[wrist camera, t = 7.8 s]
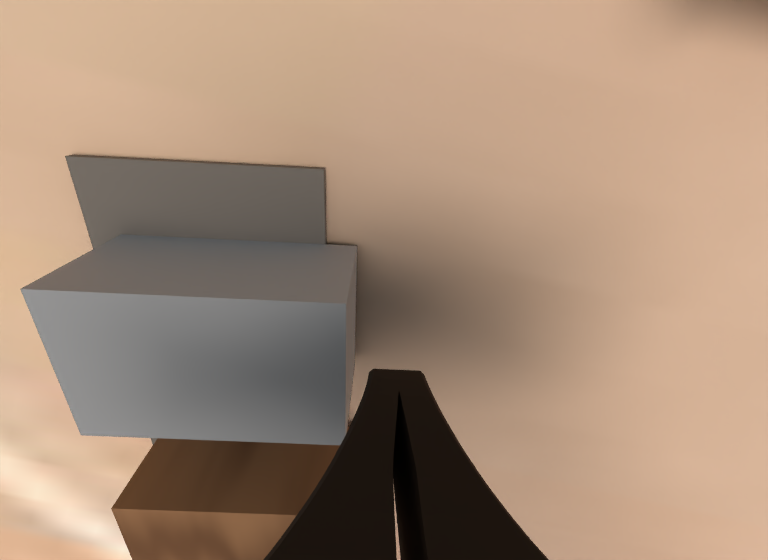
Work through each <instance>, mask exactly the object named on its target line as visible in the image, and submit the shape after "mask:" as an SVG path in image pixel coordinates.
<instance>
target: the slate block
mask: <svg viewBox="0 0 768 560" xmlns="http://www.w3.org/2000/svg"><path fill="white" fill-rule="evenodd" d="M356 278H357V246H350V245H330V244H308V243H288V242H267V241H246V240H226V239H205V238H184V237H163V236H143V235H122V234H121V235H119V236H117V237H115V238H114V239H112V240H110V241H108V242H106V243H104V244H103V245H101V246H99V247H97V248H95V249H93V250H91V251H90V252H88V253H86V254H84V255H82V256H80V257H79V258H77V259H75V260H73V261H71V262H69V263H67V264H66V265H64V266H62V267H60V268H58V269H56V270H55V271H53V272H51V273H49V274H47V275H45V276H43V277H42V278H40V279H38V280H36V281H34V282H32V283H31V284H29V285H27V286H25V287H23V288H21V292H22V294H23V296H24V299H25V301H26V304H27V306H28V309H29V311H30V313H31V316H32V318H33V321H34V323H35V325H36V328H37V330H38V333H39V335H40V338H41V340H42V342H43V345H44V347H45V350H46V352H47V354H48V357H49V359H50V362H51V364H52V366H53V369H54V371H55V374H56V376H57V379H58V381H59V383H60V386H61V388H62V391H63V393H64V395H65V398H66V400H67V403H68V405H69V407H70V410H71V412H72V415H73V417H74V420H75V422H76V424H77V427H78V429H79V432H80V434H81V435H88V436H113V437H139V438H164V439H190V440H216V441H241V442H267V443H292V444H318V445H341V443H342V441H343V439H344V437H345V435H346V433H347V426H348V418H349V409H350V400H351V391H352V383H353V374H354V365H355V328H356Z"/></svg>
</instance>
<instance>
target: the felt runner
mask: <svg viewBox="0 0 768 560" xmlns="http://www.w3.org/2000/svg"><path fill="white" fill-rule="evenodd" d="M65 157H66V161H67V164H68V167H69V171H70V174H71V177H72V180H73V184H74V187H75V190H76V194H77V197H78V200H79V203H80V207H81V210H82V213H83V217H84V220H85V223H86V226H87V230H88V233H89V236H90V240H91V243H92V246H93V249H95V248H97V247H99V246H101V245H103V244H104V243H106V242H108V241H110V240H112V239H114V238H115V237H117V236H119V235H121V234H122V235H143V236H163V237H184V238H205V239H226V240H246V241H267V242H288V243H308V244H326V188H325V168H319V167H299V166H280V165H260V164H241V163H222V162H202V161H183V160H164V159H144V158H125V157H106V156H86V155H69V156H65ZM151 440H152V443H153V444H154V443H155V441H156V440H157V438H151Z"/></svg>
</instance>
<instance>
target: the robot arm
mask: <svg viewBox="0 0 768 560" xmlns="http://www.w3.org/2000/svg"><path fill="white" fill-rule="evenodd" d="M393 482H394V490H393ZM394 493H395V503H396V513H397V524H398V534H399V545H400V555H401V560H548V558H547V557H546V556H545V555H544V554H543V553H542V552H541V551H540V550H539V548H538V547H537V546H536V545H535V544H534V543H533V542H532V541H531V540H530V538H529V537H528V536H527V535H526V534H525V532H524V531H523V530H522V529H521V528H520V526H519V525H518V524H517V523H516V521H515V520H514V519H513V518H512V517H511V515H510V514H509V513H508V512H507V510H506V509H505V508H504V506H503V505H502V504H501V502H500V501H499V500H498V499H497V497H496V496H495V495H494V493H493V492H492V491H491V489H490V488H489V486H488V485H487V484H486V482H485V481H484V480H483V478H482V477H481V475H480V474H479V472H478V471H477V469H476V468H475V466H474V465H473V463H472V462H471V460H470V459H469V457H468V456H467V454H466V453H465V451H464V450H463V448H462V446H461V445H460V443H459V442H458V440H457V438H456V437H455V435H454V433H453V431H452V430H451V428H450V426H449V425H448V423H447V421H446V419H445V418H444V416H443V414H442V412H441V410H440V408H439V406H438V404H437V402H436V400H435V398H434V396H433V394H432V392H431V390H430V388H429V386H428V383H427V381H426V378H425V376H424V374H423V373H422V372H421V371H410V370H388V369H373V370H371V371H370V372H369V376H368V381H367V385H366V388H365V391H364V394H363V397H362V400H361V402H360V405H359V407H358V410H357V412H356V414H355V416H354V418H353V421H352V423H351V425H350V427H349V429H348V431H347V433H346V435H345V437H344V439H343V441H342V443H341V445H340V447H339V448H338V450H337V452H336V454H335V456H334V458H333V459H332V461H331V463H330V465H329V466H328V468H327V470H326V471H325V473H324V475H323V476H322V478H321V480H320V481H319V483H318V484H317V486H316V488H315V489H314V491H313V492H312V494H311V495H310V497H309V498H308V500H307V501H306V503H305V504H304V506H303V507H302V509H301V510H300V511H299V513H298V514H297V516H296V517H295V518H294V520H293V521H292V523H291V524H290V526H289V527H288V528H287V530H286V531H285V532H284V534H283V535H282V536H281V538H280V539H279V541H278V542H277V543H276V544H275V546H274V547H273V548H272V550H271V551H270V552H269V553H268V555H267V556H266V557H265V558H264V560H397V559H396V537H395V516H394Z"/></svg>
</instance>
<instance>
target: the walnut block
mask: <svg viewBox="0 0 768 560" xmlns="http://www.w3.org/2000/svg"><path fill="white" fill-rule="evenodd" d="M349 427H350V426H347V431H348V429H349ZM339 447H340V445H318V444H292V443H267V442H241V441H216V440H190V439H164V438H157V440H156V441H155V443H154V444H153V446H152V448H151V449H150V451H149V452H148V454H147V455H146V457H145V458H144V460H143V461H142V463H141V464H140V466H139V467H138V469H137V470H136V472H135V473H134V475H133V476H132V478H131V479H130V481H129V482H128V484H127V486H126V487H125V489H124V490H123V492H122V493H121V495H120V496H119V498H118V499H117V501H116V502H115V504H114V505H113V507H112V508H111V509H112V511H113V514H114V516H115V519H116V521H117V523H118V526H119V528H120V531H121V533H122V536H123V538H124V540H125V543H126V545H127V548H128V550H129V552H130V555H131V557H132V560H264V558H265V557H266V556H267V555H268V553H269V552H270V551H271V550H272V548H273V547H274V546H275V544H276V543H277V542H278V541H279V539H280V538H281V536H282V535H283V534H284V532H285V531H286V530H287V528H288V527H289V526H290V524H291V523H292V521H293V520H294V518H295V517H296V516H297V514H298V513H299V511H300V510H301V509H302V507H303V506H304V504H305V503H306V501H307V500H308V498H309V497H310V495H311V494H312V492H313V491H314V489H315V488H316V486H317V484H318V483H319V481H320V480H321V478H322V476H323V475H324V473H325V471H326V470H327V468H328V466H329V465H330V463H331V461H332V459H333V458H334V456H335V454H336V452H337V450H338V448H339Z"/></svg>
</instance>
